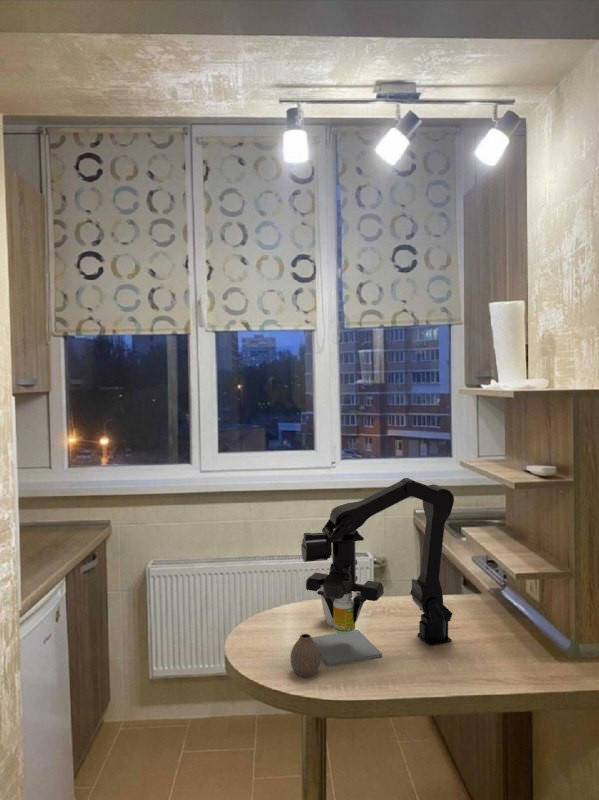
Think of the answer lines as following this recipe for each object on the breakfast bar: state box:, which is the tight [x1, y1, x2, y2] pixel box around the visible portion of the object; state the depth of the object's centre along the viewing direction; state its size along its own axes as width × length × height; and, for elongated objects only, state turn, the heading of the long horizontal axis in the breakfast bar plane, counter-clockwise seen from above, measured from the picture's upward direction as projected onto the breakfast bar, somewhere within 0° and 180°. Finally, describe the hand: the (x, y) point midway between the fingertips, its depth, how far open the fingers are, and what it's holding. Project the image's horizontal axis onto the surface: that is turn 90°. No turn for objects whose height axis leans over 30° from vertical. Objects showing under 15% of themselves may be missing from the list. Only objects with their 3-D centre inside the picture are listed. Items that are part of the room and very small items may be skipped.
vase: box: [290, 633, 322, 678], centre depth 141 cm, size 7×7×9 cm
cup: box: [321, 596, 333, 627], centre depth 168 cm, size 8×8×10 cm
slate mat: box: [311, 629, 383, 667], centre depth 153 cm, size 14×14×1 cm
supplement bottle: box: [332, 591, 356, 634], centre depth 152 cm, size 5×5×10 cm
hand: (344, 619), depth 152 cm, fingers closed on supplement bottle, 5 cm apart
